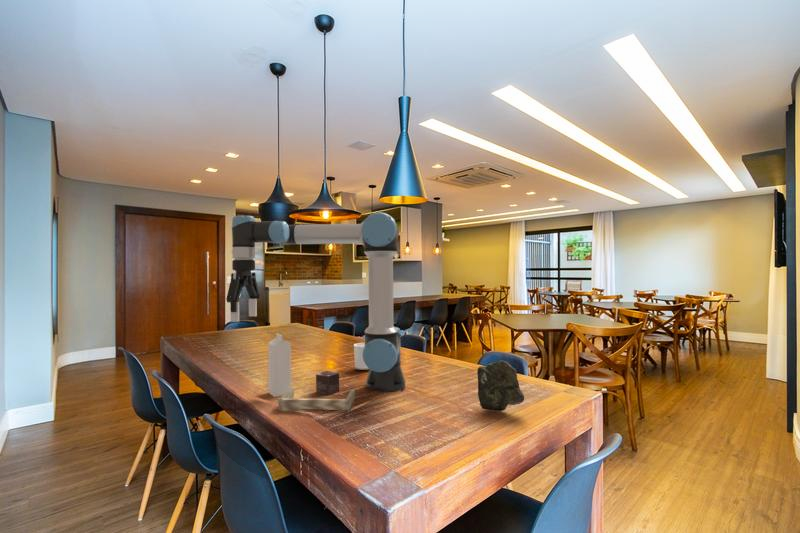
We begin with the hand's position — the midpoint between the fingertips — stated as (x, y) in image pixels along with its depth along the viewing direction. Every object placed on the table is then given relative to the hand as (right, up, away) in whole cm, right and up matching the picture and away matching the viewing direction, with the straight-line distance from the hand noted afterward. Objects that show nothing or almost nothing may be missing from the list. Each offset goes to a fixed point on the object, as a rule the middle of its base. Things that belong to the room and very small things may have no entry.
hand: (244, 318), depth 137 cm
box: (+30, -27, +2) cm, 40 cm away
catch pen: (+29, -27, -10) cm, 41 cm away
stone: (+88, -27, -15) cm, 93 cm away
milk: (+13, -28, -1) cm, 30 cm away
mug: (+40, -27, +37) cm, 61 cm away
